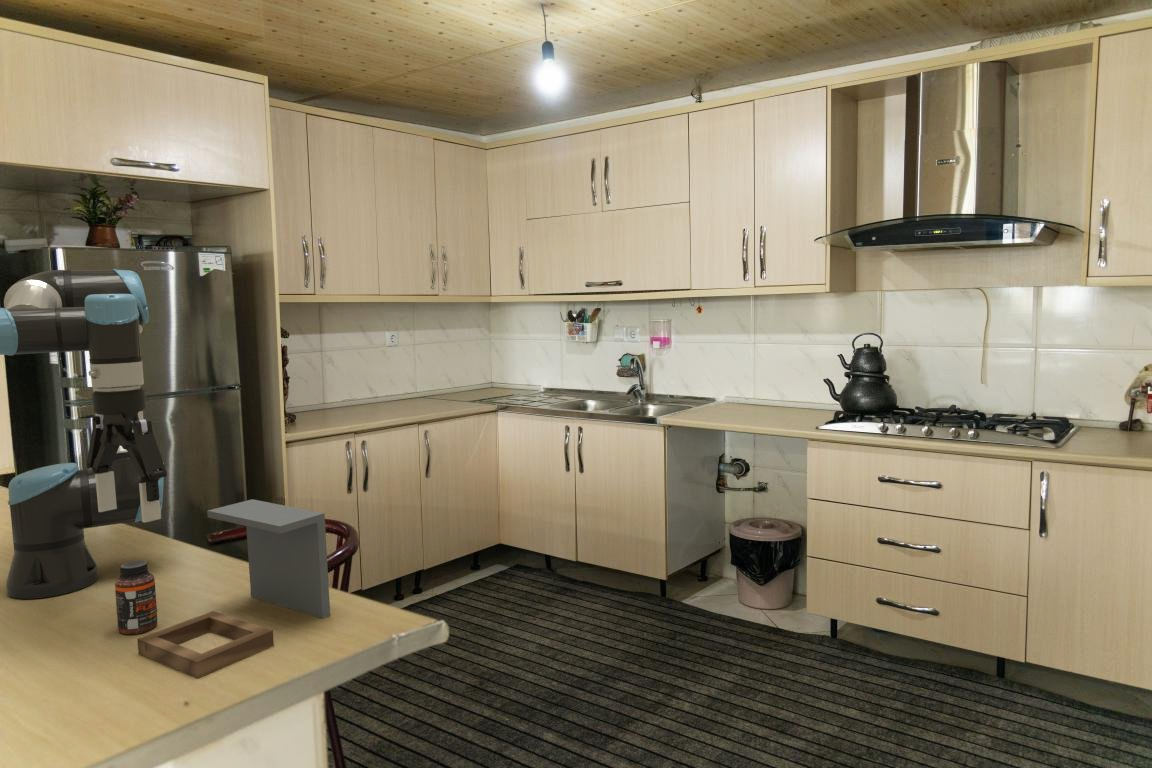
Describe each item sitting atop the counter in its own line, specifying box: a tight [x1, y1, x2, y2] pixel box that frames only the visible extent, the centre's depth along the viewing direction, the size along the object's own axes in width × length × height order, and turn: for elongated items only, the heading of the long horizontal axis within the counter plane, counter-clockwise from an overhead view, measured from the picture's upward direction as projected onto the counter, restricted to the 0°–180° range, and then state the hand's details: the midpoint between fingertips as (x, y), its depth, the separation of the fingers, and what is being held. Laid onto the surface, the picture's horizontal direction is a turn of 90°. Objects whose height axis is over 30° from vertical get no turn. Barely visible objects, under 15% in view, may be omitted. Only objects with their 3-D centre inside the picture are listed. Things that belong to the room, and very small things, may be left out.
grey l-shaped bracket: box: [206, 498, 331, 619], centre depth 143 cm, size 20×9×18 cm, turn 57°
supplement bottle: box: [114, 560, 158, 635], centre depth 138 cm, size 6×6×11 cm
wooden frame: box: [136, 610, 275, 679], centre depth 129 cm, size 16×13×2 cm
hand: (129, 515), depth 136 cm, fingers open, 13 cm apart
